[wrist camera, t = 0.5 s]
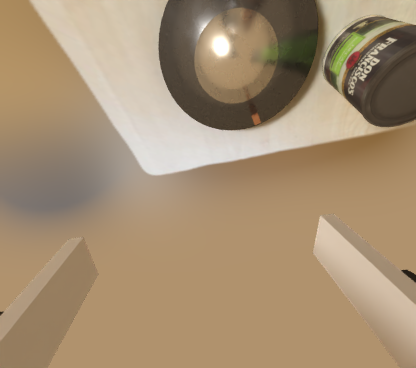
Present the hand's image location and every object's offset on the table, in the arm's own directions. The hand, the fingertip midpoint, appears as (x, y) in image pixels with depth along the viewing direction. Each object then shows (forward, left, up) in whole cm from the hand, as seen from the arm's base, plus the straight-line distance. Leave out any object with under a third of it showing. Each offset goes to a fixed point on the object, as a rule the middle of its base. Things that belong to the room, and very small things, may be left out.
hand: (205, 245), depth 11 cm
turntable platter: (+1, +4, -32) cm, 32 cm away
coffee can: (+10, +22, -34) cm, 41 cm away
